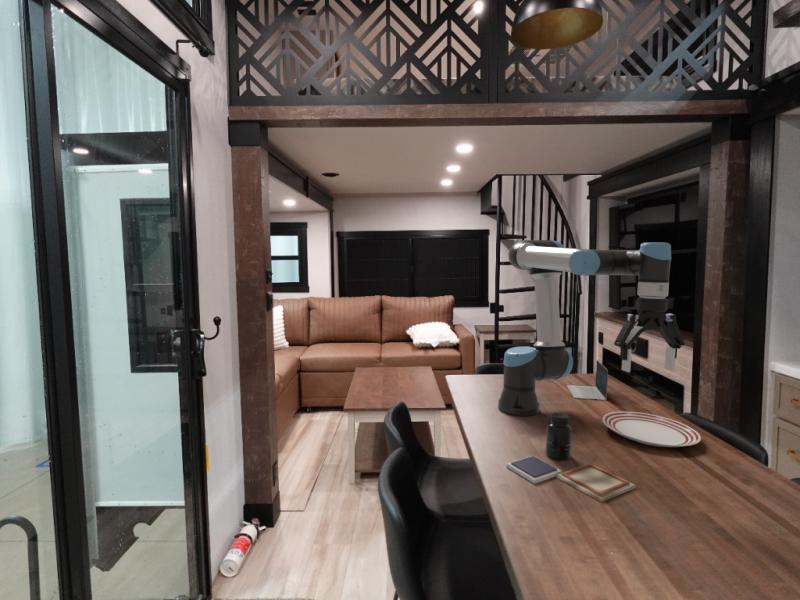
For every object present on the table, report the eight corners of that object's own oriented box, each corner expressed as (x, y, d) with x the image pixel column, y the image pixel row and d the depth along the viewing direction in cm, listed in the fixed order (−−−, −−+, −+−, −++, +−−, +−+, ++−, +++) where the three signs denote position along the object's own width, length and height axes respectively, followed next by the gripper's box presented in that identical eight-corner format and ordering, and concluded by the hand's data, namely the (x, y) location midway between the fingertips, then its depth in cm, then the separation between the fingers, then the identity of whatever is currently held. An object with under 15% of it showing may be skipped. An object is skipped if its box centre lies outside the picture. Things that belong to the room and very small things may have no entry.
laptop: (566, 386, 191) (567, 358, 190) (596, 388, 188) (597, 359, 187) (574, 399, 173) (575, 368, 172) (606, 401, 171) (608, 370, 170)
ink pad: (506, 467, 115) (506, 462, 115) (532, 458, 120) (533, 454, 120) (534, 483, 107) (534, 478, 107) (561, 474, 112) (561, 469, 111)
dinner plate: (684, 425, 146) (685, 416, 145) (714, 460, 120) (715, 449, 120) (597, 415, 155) (598, 407, 154) (608, 446, 129) (608, 436, 129)
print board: (556, 477, 110) (556, 472, 110) (589, 465, 116) (589, 461, 116) (601, 502, 99) (601, 496, 98) (635, 488, 105) (635, 482, 105)
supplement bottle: (572, 462, 118) (574, 420, 117) (547, 459, 120) (548, 418, 119) (568, 451, 125) (569, 412, 124) (544, 449, 126) (545, 410, 125)
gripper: (620, 298, 114) (615, 375, 117) (703, 298, 117) (697, 372, 120) (603, 296, 122) (599, 368, 124) (682, 295, 125) (676, 365, 127)
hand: (647, 370), depth 122 cm, fingers open, 13 cm apart
